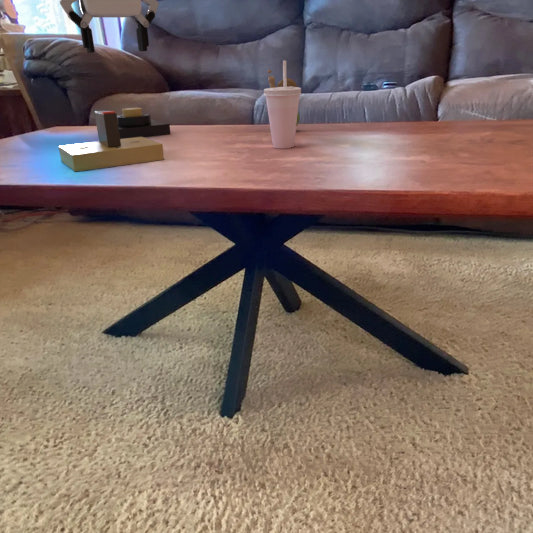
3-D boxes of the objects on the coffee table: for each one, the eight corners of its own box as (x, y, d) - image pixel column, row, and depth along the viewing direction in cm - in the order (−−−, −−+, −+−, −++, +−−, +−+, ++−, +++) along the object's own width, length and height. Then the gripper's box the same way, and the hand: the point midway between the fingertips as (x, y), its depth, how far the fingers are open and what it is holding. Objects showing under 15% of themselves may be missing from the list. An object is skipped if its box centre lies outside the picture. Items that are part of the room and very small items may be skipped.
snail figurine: (274, 129, 110) (272, 69, 105) (302, 129, 107) (302, 68, 103) (265, 132, 105) (263, 70, 100) (294, 133, 103) (294, 70, 98)
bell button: (126, 119, 104) (125, 110, 104) (120, 117, 107) (119, 108, 107) (145, 117, 106) (144, 108, 105) (139, 115, 109) (138, 107, 109)
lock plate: (74, 171, 75) (71, 153, 74) (61, 161, 83) (58, 144, 82) (164, 159, 82) (162, 142, 81) (143, 150, 90) (141, 135, 89)
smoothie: (309, 146, 89) (309, 59, 83) (279, 151, 85) (277, 61, 80) (286, 142, 94) (285, 60, 88) (258, 146, 90) (254, 61, 85)
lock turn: (99, 143, 83) (94, 109, 81) (111, 141, 84) (106, 108, 82) (108, 147, 79) (103, 112, 77) (121, 146, 80) (116, 111, 78)
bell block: (113, 141, 101) (110, 120, 100) (100, 135, 109) (97, 116, 108) (170, 134, 107) (168, 114, 105) (154, 129, 115) (152, 111, 113)
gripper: (145, -50, 94) (156, 50, 101) (46, -56, 86) (65, 53, 93) (158, -57, 88) (169, 50, 95) (53, -65, 80) (73, 53, 87)
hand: (117, 51), depth 94 cm, fingers open, 9 cm apart
